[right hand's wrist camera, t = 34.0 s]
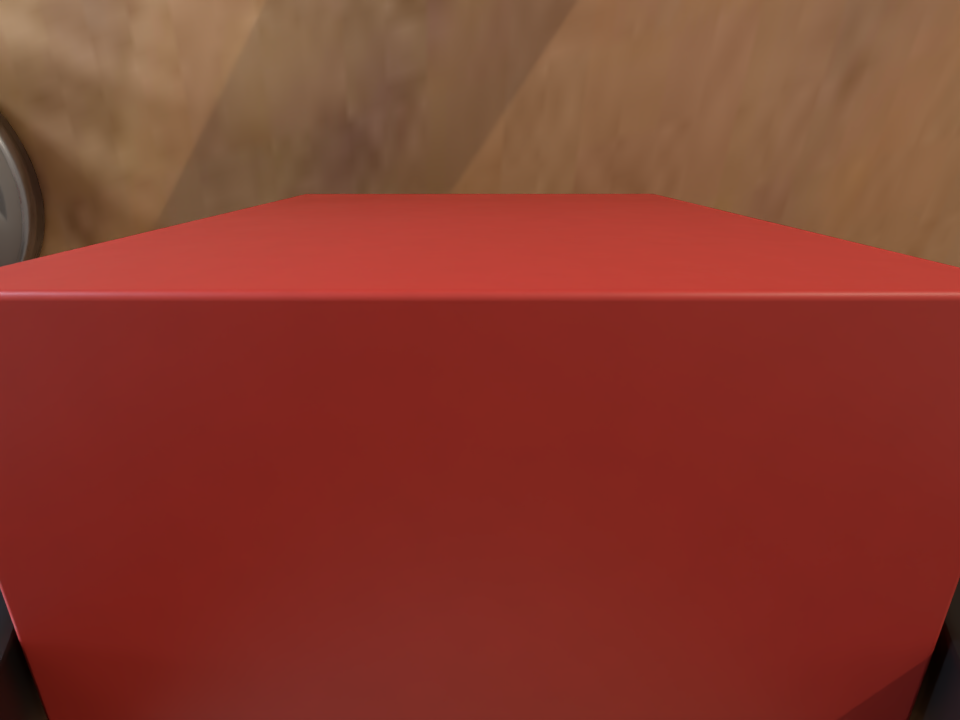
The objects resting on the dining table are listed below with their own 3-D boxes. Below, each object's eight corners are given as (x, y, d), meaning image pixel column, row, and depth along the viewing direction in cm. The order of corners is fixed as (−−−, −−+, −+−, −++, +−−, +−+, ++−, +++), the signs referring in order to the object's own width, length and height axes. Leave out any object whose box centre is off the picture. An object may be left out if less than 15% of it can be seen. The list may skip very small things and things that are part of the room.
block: (623, 511, 17) (814, 994, 7) (336, 511, 17) (143, 994, 7) (655, 193, 14) (1067, 291, 4) (304, 193, 14) (-114, 292, 4)
